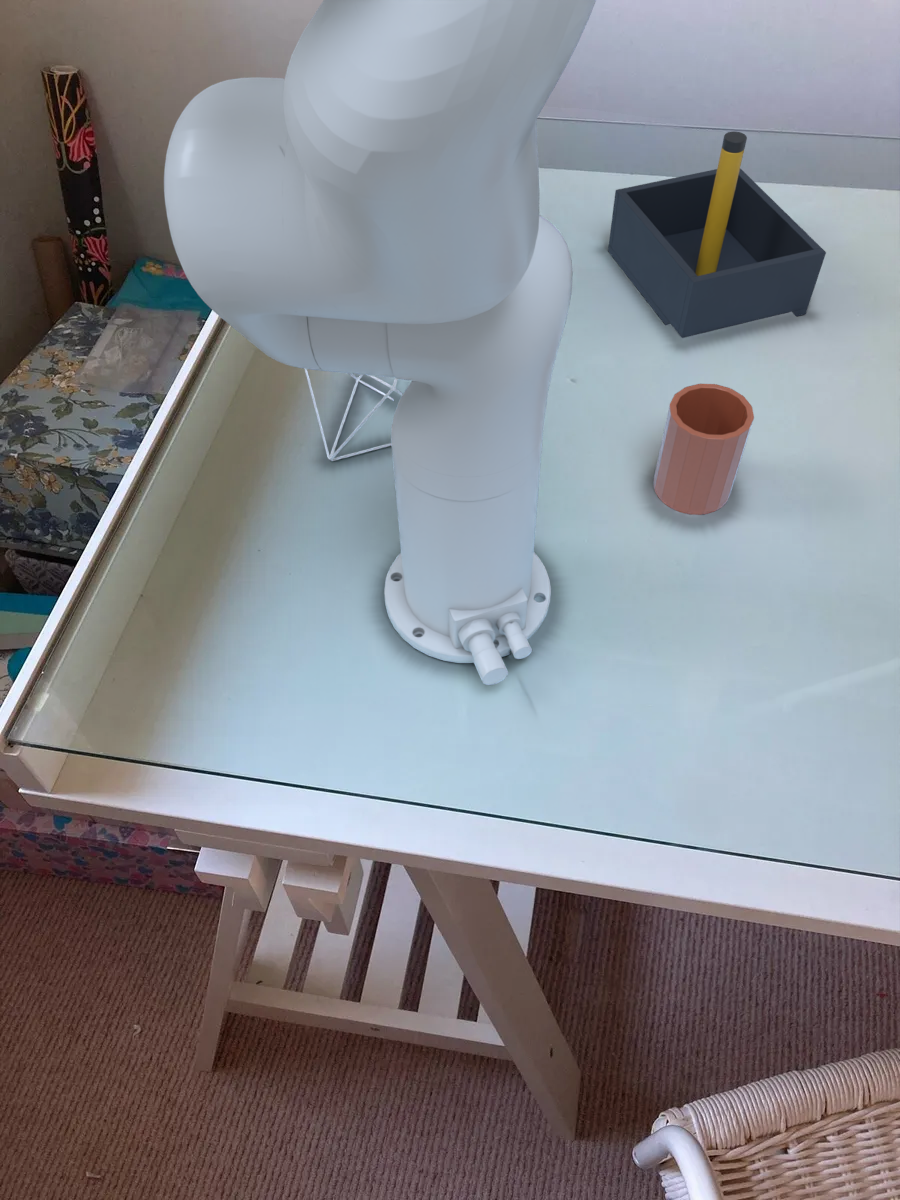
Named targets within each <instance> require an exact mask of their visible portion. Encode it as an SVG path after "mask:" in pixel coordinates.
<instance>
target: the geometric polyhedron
mask: <svg viewBox="0 0 900 1200" xmlns="http://www.w3.org/2000/svg"><path fill="white" fill-rule="evenodd" d="M304 373H305V377H306V380H307V384H308V388H309V392H310V396H311V400H312V403H313V407H314V411H315V416H316V418H317V423H318V427H319V430H320V434H321V438H322V442H323V446H324V450H325V453H326V457H327V459H328V461H331V462H334V461H338V460H341V459H346V458H349V457H350V458H351V457H353V456H358V455H360V454H365V453H368V452H371V451H375V450H379V449H383V448H387V447H392V445H391V442H389V443H385V444H381V445H379V446H374V447H371V448H367V449H362V450H359V451H355V452H351V453H347V454H344V455H340V456H337V455H338V454H339V453H340V451H342V449H343V448H344V447H345V446H346V445H347V443H349V441H350V440H351V439H352V438H353V437H354V435H356V433H357V432H358V431H359V430H360V429H361V427H363V425H365V423H366V422H367V421H368V420H369V419H370V418H371V417H372V416H373V414H374V413H375V412H376V411H377V410H378V409H379V407H381V405H382V404H383V403H384V402H385V401H386V400H387V399H389V400H391V401H392V402H395V401H394V398H393V397H391V396H390V395H391V394H392V393H393V392H395V393H397V394H398V395H399V396H400V397H401V396H402V395H403V393H404V392H401V391H400V390H399V389H398V388H397V382H398V379H396V378H394V380H393V383H392V385H391V384H389V382H386V381H384V380H382V379H380V378H379V377H378V376H371V375H367V376H368V377H370V378H372V379H373V380H375V381H376V382H378V383H381V384H383V385H384V386H386V387H388V388H389V390H388V391H387V392H386V393H385V392H383V391H381V390H379V389H377V388H375V387H374V386H372V385H370V384H369V383H367V382H365V381H363V380H361V379H362V378H363V376H364V375H360V374H359V376H356V375H355V374H350V373H346V374H347V375H348V376H350V377H352V378H353V379H354V380H355V383H354V386H353V389H352V392H351V394H350V397H349V400H348V403H347V405H346V409H345V411H344V413H343V417H342V420H341V423H340V426H339V428H338V431H337V434H336V437H335V439H334V443H333V445H332V448H331V451H330V452H329V448H328V445H327V441H326V440H327V439H326V437H325V432H324V429H323V426H322V425H323V424H322V421H321V418H320V413H319V409H318V406H317V403H316V398H315V395H314V391H313V387H312V383H311V378H310V376H309V375H310V374H309V372H308V369H304ZM359 383H361V384H362V385H363V386H366V387H367V388H369V389H371V390H373V391H374V392H376V393H378V394H380V395H381V396H383V397H382V398H381V399H380V400H379V401H378V402H377V404H376V405H375V406H374V407H373V408H372V410H371V411H369V413H368V414H367V415H366V416H365V417H364V419H362V421H361V422H360V423H359V424H358V425H357V426H356V427H355V429H354V430H352V432H351V433H350V434H349V436H348V437H347V438H346V439H345V440H344V441H343V442H342V443H341V445H340V446H339V447H338V448H337V449H336V447H337V445H338V441H339V439H340V436H341V434H342V430H343V427H344V425H345V422H346V419H347V416H348V413H349V411H350V407H351V404H352V403H353V399H354V396H355V393H356V390H357V387H358V384H359Z"/></svg>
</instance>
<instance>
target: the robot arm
mask: <svg viewBox="0 0 900 1200" xmlns="http://www.w3.org/2000/svg"><path fill="white" fill-rule="evenodd" d="M596 2H597V0H323V1H322V2H321V3H320V5H319V6H318V8H316V11H315V12H314V14H313V16H312V17H311V19H310V21H309V22H308V23H307V25H306V26H305V27H304V29H303V31H302V33H301V34H300V37H299V39H298V40H297V43H296V45H295V47H294V49H293V52H291V55H290V59H289V62H288V64H287V68H286V71H285V75H284V78H283V77H262V76H261V77H238V78H231V79H226V80H222V81H220V82H217V83H213V84H212V85H210V86H208V87H206V88H204V89H203V90H201V91H200V92H199V93H198V94H196V95H195V96H194V97H193V98H192V99H191V100H190V101H189V102H188V103H187V105H186V106H185V107H184V109H183V111H182V112H181V113H180V115H179V116H178V119H177V120H176V122H175V124H174V127H173V129H172V132H171V135H170V137H169V141H168V146H167V150H166V153H165V154H166V155H165V162H164V171H163V194H164V195H163V196H164V205H165V211H166V217H167V218H166V219H167V224H168V228H169V234H170V237H171V242H172V244H173V245H172V246H173V248H174V251H175V253H176V256H177V259H178V261H179V263H180V266H181V268H182V271H183V273H184V275H185V277H186V279H187V280H188V282H189V284H190V285H191V287H192V288H193V289H194V291H195V292H196V294H197V296H198V297H199V298H200V299H201V300H202V301H203V302H204V304H206V306H207V307H209V308H210V310H212V312H214V313H215V314H216V315H217V316H218V317H220V318H221V319H222V320H223V321H224V322H225V323H227V324H228V325H229V326H230V327H232V328H233V329H234V330H235V331H236V332H237V333H238V334H240V335H241V336H242V337H243V338H245V339H246V340H247V341H248V342H249V343H251V344H252V345H253V346H254V347H256V348H257V349H258V350H259V351H261V352H262V353H263V354H265V355H266V356H267V357H269V358H270V359H272V360H274V361H276V362H278V363H281V364H283V365H286V366H289V367H293V368H298V369H304V370H305V369H307V370H311V371H320V372H328V373H329V372H330V373H341V374H347V373H350V374H353V375H359V376H360V375H363V376H368V375H371V376H375V377H382V378H393V379H395V378H396V379H398V380H399V381H400V380H401V381H410V383H409V384H408V385H407V387H406V389H405V390H404V392H402V393H403V395H402V396H401V395H400V398H399V400H398V403H397V405H396V408H395V411H394V413H393V417H392V421H391V428H390V443H391V455H392V465H393V466H392V467H393V478H394V487H395V488H394V489H395V497H396V499H395V500H396V510H397V521H398V522H397V523H398V531H399V532H398V533H399V543H400V544H399V545H400V553H398V555H397V556H396V558H395V559H394V560H393V562H392V563H391V565H390V566H389V569H388V570H387V574H386V577H385V582H384V590H383V594H384V605H385V608H386V612H387V616H388V617H387V618H388V619H389V621H390V623H391V625H392V626H393V628H394V630H395V631H396V632H397V633H398V635H399V636H400V637H401V639H402V640H404V641H405V642H406V643H407V644H408V645H410V646H411V647H412V648H414V649H415V650H417V651H419V652H421V653H423V654H424V655H426V656H429V657H431V658H435V659H437V660H440V661H443V662H449V663H456V664H474V666H475V668H476V671H477V673H478V675H479V676H478V677H479V678H480V680H481V683H482V684H484V685H485V686H493V685H497V684H499V683H501V682H502V681H504V680H505V679H506V678H507V677H508V675H509V671H508V669H507V667H506V664H505V662H504V660H503V657H506V656H509V655H510V654H511V653H512V655H513V657H514V659H515V660H523V659H525V658H527V657H528V656H530V655H531V654H532V651H533V649H532V646H531V645H530V643H529V639H530V638H531V637H532V636H533V635H534V634H535V633H536V632H537V631H538V629H540V627H541V625H542V624H543V622H544V621H545V618H546V616H547V615H548V612H549V608H550V604H551V595H552V587H551V580H550V576H549V573H548V571H547V568H546V566H545V564H544V563H543V561H542V560H541V557H539V555H538V554H537V553H536V552H535V541H536V540H535V538H536V527H537V526H536V525H537V517H538V515H537V514H538V502H539V490H540V479H541V477H540V476H541V464H542V453H543V452H542V450H543V440H544V439H543V438H544V428H545V421H546V412H547V405H548V404H547V403H548V396H549V391H550V387H551V381H552V376H553V371H554V367H555V363H556V360H557V355H558V351H559V348H560V345H561V341H562V337H563V333H564V330H565V328H566V323H567V319H568V314H569V310H570V304H571V300H572V299H571V298H572V292H573V291H572V290H573V273H574V271H573V260H572V256H571V251H570V249H569V246H568V244H567V241H566V239H565V237H564V236H563V233H562V232H561V231H560V230H559V228H557V227H556V226H555V224H553V223H552V222H551V221H550V220H548V219H547V218H545V217H543V216H542V215H540V199H541V197H540V168H539V166H540V165H539V147H538V144H539V143H538V123H537V120H538V118H539V116H540V114H541V113H542V110H543V108H544V106H545V105H546V104H547V102H548V100H549V98H550V97H551V95H552V93H553V91H554V89H555V88H556V86H557V85H558V82H559V80H560V79H561V77H562V75H563V74H564V72H565V70H566V68H567V66H568V64H569V62H570V60H571V58H572V56H573V54H574V52H575V50H576V48H577V46H578V44H579V42H580V40H581V37H582V35H583V33H584V30H585V29H586V26H587V24H588V22H589V20H590V18H591V14H592V12H593V9H594V7H595V4H596ZM398 380H397V381H398ZM538 597H541V598H542V599H544V600H543V601H537V600H535V599H536V598H538ZM510 651H511V652H510Z"/></svg>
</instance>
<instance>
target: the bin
mask: <svg viewBox="0 0 900 1200" xmlns="http://www.w3.org/2000/svg"><path fill="white" fill-rule="evenodd" d="M716 172H717V168H715V169H711V170H706V171H701V172H695V173H691V174H686V175H680V176H677V177H672V178H666V179H662V180H657V181H653V182H647V183H642V184H637V185H634V186H628V187H624V188H619V189H615V191H614V200H613V207H612V216H611V223H610V224H611V225H610V232H609V238H608V239H609V240H608V245H607V252H608V253H609V254H610V256H611V257H612V258H613V259H614V261H615V262H616V263H617V264H618V266H619V267H620V269H621V270H622V271H623V272H624V273H625V275H626V276H627V278H628V279H629V280H630V282H631V283H632V284H633V285H634V286H635V288H636V289H637V290H638V291H639V293H640V295H642V297H643V298H644V299H645V301H646V302H647V303H648V304H649V306H650V307H651V308H652V310H653V311H654V312H655V314H656V315H657V316H658V317H659V319H660V320H661V321H662V323H663V324H664V325H665V326H669V325H671V326H672V328H673V329H674V331H676V332H677V334H678V336H679V337H680V338H681V339H684V338H690V337H693V336H697V335H700V334H701V335H702V334H705V333H709V332H713V331H717V330H723V329H726V328H731V327H734V326H739V325H742V324H746V323H747V324H748V323H751V322H755V321H759V320H764V319H768V318H771V317H776V316H781V315H784V314H789V313H792V314H793V315H794V316H795V317H799V316H804V315H806V314H807V312H808V308H809V306H810V302H811V299H812V296H813V293H814V292H815V291H814V290H815V287H816V285H817V282H818V278H819V276H820V272H821V269H822V266H823V263H824V260H825V257H826V254H827V251H826V250H825V249H824V248H822V247H821V245H820V244H818V243H817V242H816V241H815V240H814V239H813V238H812V237H811V236H810V235H809V234H808V233H807V232H806V231H805V230H804V229H803V228H802V227H801V226H800V225H799V224H798V223H797V222H796V221H795V220H794V219H793V218H792V217H791V216H790V215H789V214H788V213H787V212H786V211H785V210H784V209H783V208H782V207H781V206H780V205H779V204H777V202H775V200H774V199H772V198H771V197H770V196H769V194H767V192H765V190H763V189H762V188H761V186H759V184H758V183H756V182H755V181H754V180H753V179H752V178H751V177H750V176H749V175H748V174H747V173H746V172H745V171H744V170H743V169H742V168H740V171H739V175H738V179H737V184H736V188H735V192H734V197H733V201H732V205H731V209H730V214H729V218H728V222H727V227H726V231H725V235H724V240H723V244H722V248H721V253H720V257H719V261H718V266H717V270H716V272H713V273H709V274H705V275H700V276H697V275H696V274H695V271H696V266H697V262H698V257H699V252H700V248H701V243H702V238H703V233H704V229H705V224H706V219H707V215H708V210H709V205H710V200H711V196H712V191H713V186H714V182H715V177H716Z"/></svg>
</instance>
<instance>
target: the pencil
mask: <svg viewBox="0 0 900 1200" xmlns="http://www.w3.org/2000/svg"><path fill="white" fill-rule="evenodd" d="M747 140H748V137H747V135H746V134H745V133H743V132H740V131H728V132H726V133H725V134H724V135H723V140H722V145H721V149H720V154H719V159H718V163H717V168H716V169H717V172H716V177H715V182H714V186H713V191H712V196H711V200H710V205H709V210H708V215H707V219H706V224H705V229H704V233H703V238H702V243H701V248H700V252H699V257H698V262H697V266H696V271H695V274H696V275H697V276H700V275H705V274H709V273H713V272H716V270H717V266H718V261H719V257H720V253H721V248H722V244H723V240H724V235H725V231H726V227H727V222H728V218H729V214H730V209H731V205H732V201H733V197H734V192H735V188H736V184H737V179H738V175H739V171H740V169H741V166H742V161H743V158H744V152H745V149H746V145H747Z"/></svg>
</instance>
